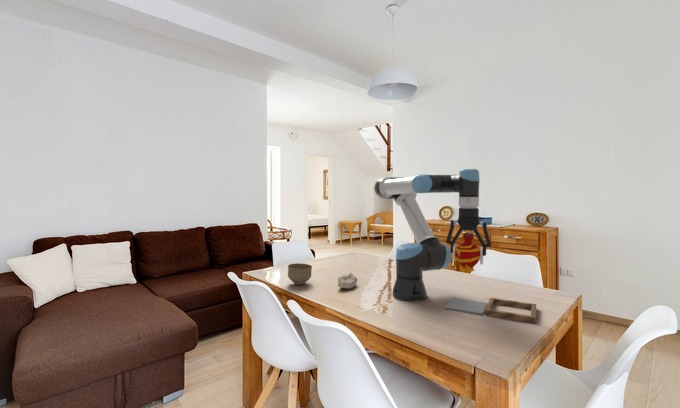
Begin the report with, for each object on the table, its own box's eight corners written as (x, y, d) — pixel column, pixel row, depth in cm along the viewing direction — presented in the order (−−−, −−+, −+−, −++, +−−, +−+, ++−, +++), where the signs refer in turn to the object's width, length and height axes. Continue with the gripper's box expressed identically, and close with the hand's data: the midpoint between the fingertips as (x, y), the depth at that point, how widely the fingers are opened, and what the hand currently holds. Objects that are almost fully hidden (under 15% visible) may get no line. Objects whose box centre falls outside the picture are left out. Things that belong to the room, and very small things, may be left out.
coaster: (444, 308, 131) (444, 307, 131) (452, 298, 143) (452, 297, 143) (482, 315, 124) (482, 313, 124) (487, 304, 135) (487, 302, 135)
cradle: (484, 314, 124) (484, 309, 124) (490, 302, 138) (490, 297, 138) (535, 323, 115) (535, 317, 115) (536, 309, 129) (536, 304, 129)
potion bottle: (484, 273, 127) (485, 235, 126) (456, 272, 129) (457, 234, 128) (477, 267, 137) (478, 231, 136) (452, 266, 139) (452, 231, 138)
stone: (357, 293, 164) (361, 274, 168) (347, 287, 154) (351, 267, 158) (344, 292, 168) (347, 273, 172) (333, 286, 158) (337, 266, 162)
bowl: (311, 287, 164) (310, 267, 163) (286, 287, 164) (285, 268, 163) (313, 280, 176) (313, 262, 176) (290, 281, 176) (289, 262, 176)
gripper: (438, 207, 134) (437, 260, 135) (498, 208, 123) (497, 267, 124) (442, 206, 140) (442, 257, 142) (500, 207, 129) (498, 263, 130)
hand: (467, 262), depth 133 cm, fingers closed on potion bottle, 10 cm apart
